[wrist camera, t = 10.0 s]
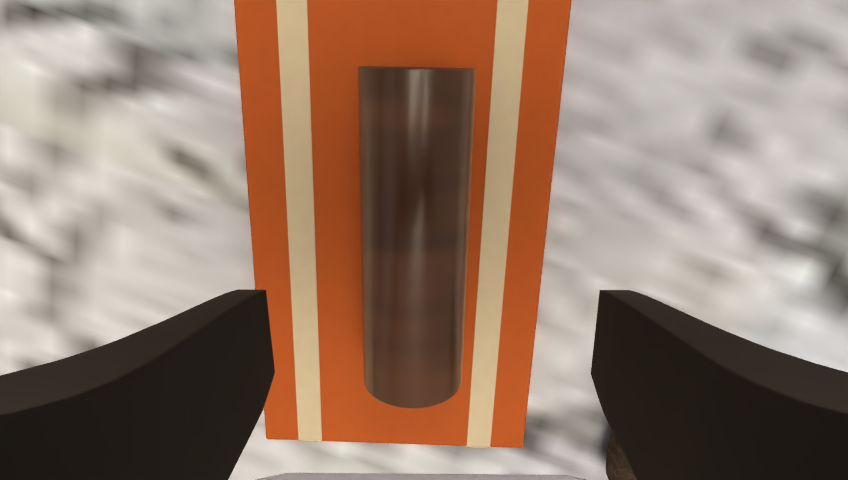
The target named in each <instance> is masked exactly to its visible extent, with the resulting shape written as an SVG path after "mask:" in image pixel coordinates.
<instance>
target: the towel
mask: <svg viewBox="0 0 848 480" xmlns="http://www.w3.org/2000/svg"><path fill="white" fill-rule="evenodd" d="M234 4H235V18H236V32H237V45H238V59H239V72H240V86H241V100H242V113H243V127H244V141H245V154H246V168H247V181H248V195H249V209H250V222H251V236H252V250H253V263H254V277H255V290H266V294H267V303H268V312H269V321H270V330H271V340H272V349H273V358H274V367H275V374H274V377H273V380H272V384H271V387H270V390H269V393H268V396H267V399H266V402H265V405H264V413H265V427H266V438H267V439H285V440H299V441H315V442H322V441H342V442H370V443H399V444H428V445H456V446H467V447H487V448H490V447H513V448H522V447H523V439H524V430H525V421H526V412H527V402H528V393H529V384H530V375H531V366H532V357H533V347H534V338H535V329H536V320H537V311H538V301H539V292H540V283H541V274H542V265H543V256H544V246H545V237H546V228H547V219H548V210H549V201H550V191H551V182H552V173H553V164H554V155H555V146H556V136H557V127H558V118H559V109H560V100H561V91H562V81H563V72H564V63H565V54H566V45H567V36H568V26H569V17H570V8H571V0H234ZM359 66H400V67H449V68H474V69H476V85H475V107H474V128H473V149H472V170H471V192H470V213H469V234H468V256H467V277H466V298H465V319H464V341H463V362H462V382H461V386H460V388H459V390H458V391H457V393H456V394H455V395H454V396H453V397H452V398H450V399H449V400H447V401H445V402H443V403H441V404H438V405H435V406H431V407H426V408H400V407H395V406H391V405H388V404H385V403H383V402H381V401H379V400H377V399H376V398H374V397H373V396H372V395H371V394H370V393H369V392H368V390H367V389H366V387H365V384H364V356H363V305H362V253H361V202H360V150H359V99H358V67H359Z"/></svg>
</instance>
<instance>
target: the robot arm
mask: <svg viewBox="0 0 848 480" xmlns="http://www.w3.org/2000/svg"><path fill="white" fill-rule="evenodd" d="M274 374H275V367H274V358H273V349H272V340H271V330H270V321H269V312H268V303H267V294H266V290H235V291H231V292H228V293H226V294H223V295H220V296H218V297H216V298H213V299H211V300H209V301H206V302H204V303H202V304H200V305H198V306H195V307H193V308H191V309H189V310H187V311H184V312H182V313H180V314H178V315H176V316H174V317H171V318H169V319H167V320H165V321H162V322H160V323H158V324H155V325H153V326H151V327H148V328H146V329H143V330H141V331H139V332H136V333H134V334H132V335H129V336H127V337H124V338H122V339H119V340H117V341H114V342H112V343H109V344H106V345H103V346H101V347H98V348H95V349H92V350H89V351H86V352H83V353H80V354H77V355H74V356H71V357H68V358H64V359H61V360H58V361H54V362H51V363H47V364H43V365H39V366H35V367H32V368H28V369H24V370H20V371H16V372H13V373H9V374H5V375H1V376H0V480H228V479H229V477H230V475H231V473H232V471H233V469H234V467H235V465H236V463H237V461H238V459H239V457H240V455H241V453H242V451H243V449H244V447H245V445H246V443H247V441H248V439H249V437H250V435H251V433H252V431H253V429H254V427H255V425H256V423H257V421H258V419H259V417H260V415H261V413H262V411H263V408H264V405H265V402H266V399H267V396H268V393H269V390H270V387H271V384H272V380H273V377H274ZM591 375H592V379H593V382H594V385H595V388H596V392H597V395H598V398H599V401H600V404H601V407H602V409H603V412H604V414H605V417H606V419H607V421H608V423H609V425H610V427H611V429H612V431H613V433H614V435H615V437H616V439H617V441H618V443H619V445H620V447H621V449H622V451H623V453H624V455H625V457H626V459H627V461H628V463H629V465H630V467H631V469H632V471H633V473H634V475H635V477H636V479H637V480H848V372H844V371H840V370H836V369H833V368H829V367H826V366H822V365H819V364H815V363H812V362H809V361H806V360H803V359H800V358H797V357H794V356H791V355H788V354H785V353H781V352H778V351H775V350H773V349H770V348H767V347H764V346H761V345H759V344H756V343H754V342H751V341H749V340H746V339H744V338H741V337H739V336H736V335H734V334H731V333H729V332H726V331H724V330H722V329H719V328H717V327H715V326H712V325H710V324H708V323H706V322H703V321H701V320H699V319H697V318H694V317H692V316H690V315H688V314H686V313H683V312H681V311H679V310H677V309H675V308H673V307H670V306H668V305H666V304H664V303H662V302H659V301H657V300H655V299H653V298H650V297H648V296H645V295H643V294H640V293H637V292H634V291H630V290H600V294H599V303H598V313H597V322H596V331H595V341H594V350H593V359H592V368H591ZM257 480H586V479H581V478H577V477H573V476H568V475H494V474H360V473H284V474H280V475H275V476H271V477H266V478H261V479H257Z"/></svg>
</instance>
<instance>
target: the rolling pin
mask: <svg viewBox="0 0 848 480" xmlns="http://www.w3.org/2000/svg"><path fill="white" fill-rule="evenodd" d="M475 85H476V69H474V68H449V67H400V66H359V67H358V99H359V150H360V202H361V253H362V305H363V356H364V384H365V387H366V389H367V390H368V392H369V393H370V394H371V395H372V396H373V397H374V398H376V399H377V400H379V401H381V402H383V403H385V404H388V405H391V406H395V407H400V408H426V407H431V406H435V405H438V404H441V403H443V402H445V401H447V400H449V399H450V398H452V397H453V396H454V395H455V394H456V393H457V391H458V390H459V388H460V386H461V382H462V362H463V341H464V319H465V298H466V277H467V256H468V234H469V213H470V192H471V170H472V149H473V128H474V107H475Z"/></svg>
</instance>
